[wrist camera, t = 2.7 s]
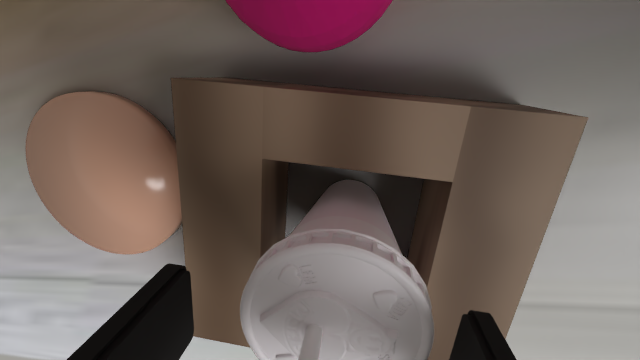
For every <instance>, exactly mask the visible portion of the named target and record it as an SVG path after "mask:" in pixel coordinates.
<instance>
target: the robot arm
mask: <svg viewBox="0 0 640 360" xmlns="http://www.w3.org/2000/svg"><path fill="white" fill-rule="evenodd" d="M193 334H194V320H193V305H192V290H191V275H190V272H189V271H187V269H186V267H185V266H182V265H175V264H167V265H165V266H164V267H163V268H162V269H161V270H160V271H159V272H158V273H157V274H156V275H155V276H154V277H153V278H152V279H151V280H150V281H149V282H147V283H146V284H145V285H144V286H143V287H142V288H141V289H140V290H139V291H138V292H137V293H136V294H135V295H134V296H133V297H132V298H131V299H130V300H129V301H128V302H127V303H125V304H124V305H123V306H122V307H121V308H120V309H119V310H118V311H117V312H116V313H115V314H114V315H113V316H112V317H111V318H110V319H109V320H108V321H107V322H106V323H105V324H103V325H102V326H101V327H100V328H99V329H98V330H97V331H96V332H95V333H94V334H93V335H92V336H91V337H90V338H89V339H88V340H87V341H86V342H85V343H84V344H83V345H82V346H80V347H79V348H78V349H77V350H76V351H75V352H74V353H73V354H72V355H71V356H70V357H69V358H68V359H67V360H179V359H180V357H181V355H182V354H183V352H184V351H185V349H186V348H187V346H188V345H189V343H190V342H191V340H192V337H193ZM449 360H516V358H515V356H514V355H513V353H512V351H511V349H510V347H509V346H508V344H507V342H506V340H505V338H504V337H503V335H502V333H501V331H500V329H499V328H498V326H497V324H496V322H495V320H494V318H493V317H492V315H491V314H490V313H487V312H480V311H474V310H470V311H469V312H468V314H463V315H462V318H461V321H460V325H459V328H458V331H457V335H456V338H455V341H454V345H453V348H452V352H451V355H450V358H449Z"/></svg>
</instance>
